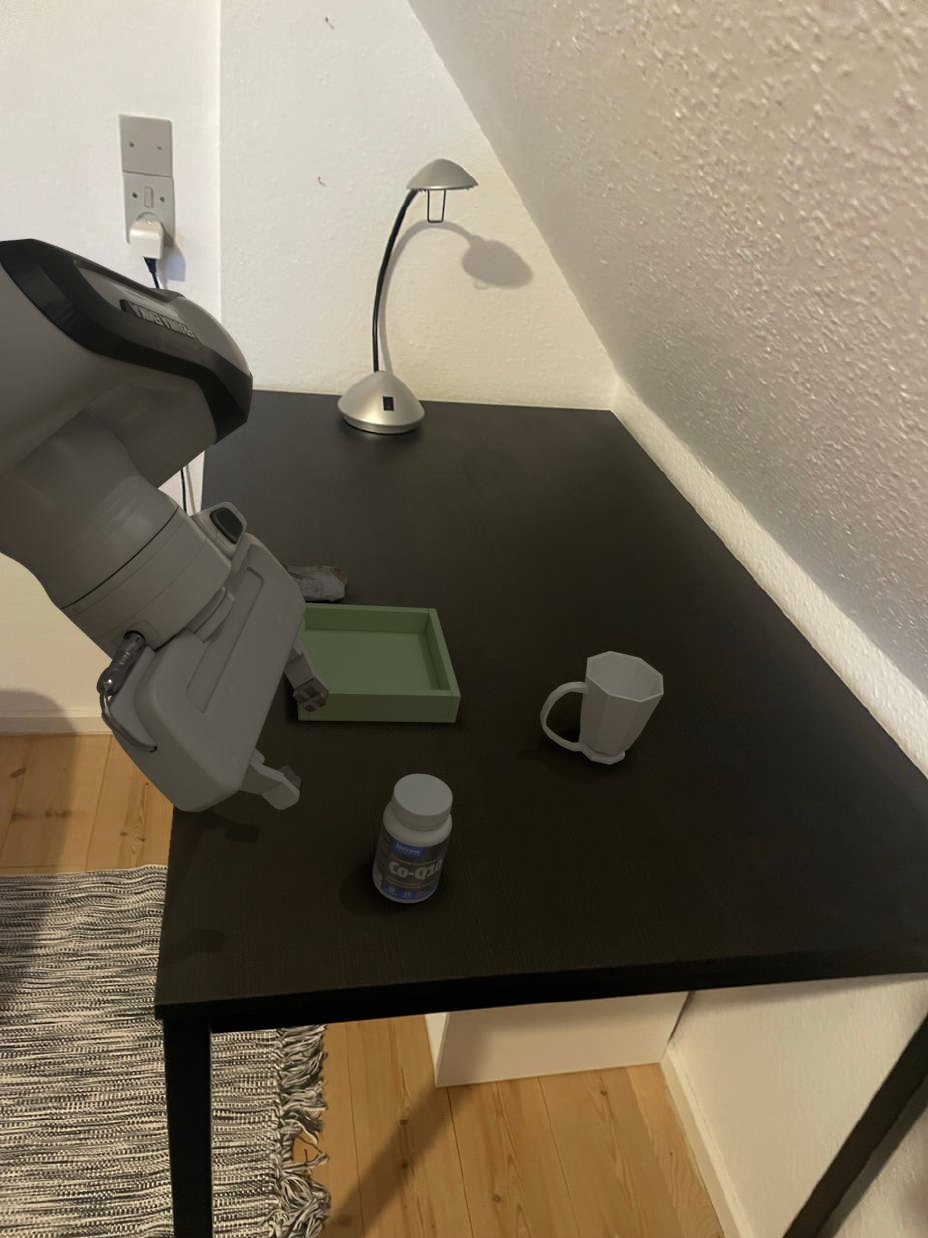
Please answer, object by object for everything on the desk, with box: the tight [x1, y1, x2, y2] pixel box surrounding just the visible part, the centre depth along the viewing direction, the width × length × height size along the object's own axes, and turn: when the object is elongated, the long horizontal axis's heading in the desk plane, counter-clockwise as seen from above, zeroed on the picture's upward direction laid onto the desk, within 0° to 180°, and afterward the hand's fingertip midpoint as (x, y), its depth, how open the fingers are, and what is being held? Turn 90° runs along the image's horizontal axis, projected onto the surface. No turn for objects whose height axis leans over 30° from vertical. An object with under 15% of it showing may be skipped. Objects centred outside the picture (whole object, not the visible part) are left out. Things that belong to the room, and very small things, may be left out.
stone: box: [279, 561, 349, 603], centre depth 95 cm, size 10×7×3 cm
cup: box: [539, 650, 665, 766], centre depth 81 cm, size 7×10×8 cm
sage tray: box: [296, 602, 462, 723], centre depth 86 cm, size 14×14×3 cm
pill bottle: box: [372, 773, 453, 904], centre depth 65 cm, size 5×5×8 cm
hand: (308, 746), depth 60 cm, fingers open, 8 cm apart
